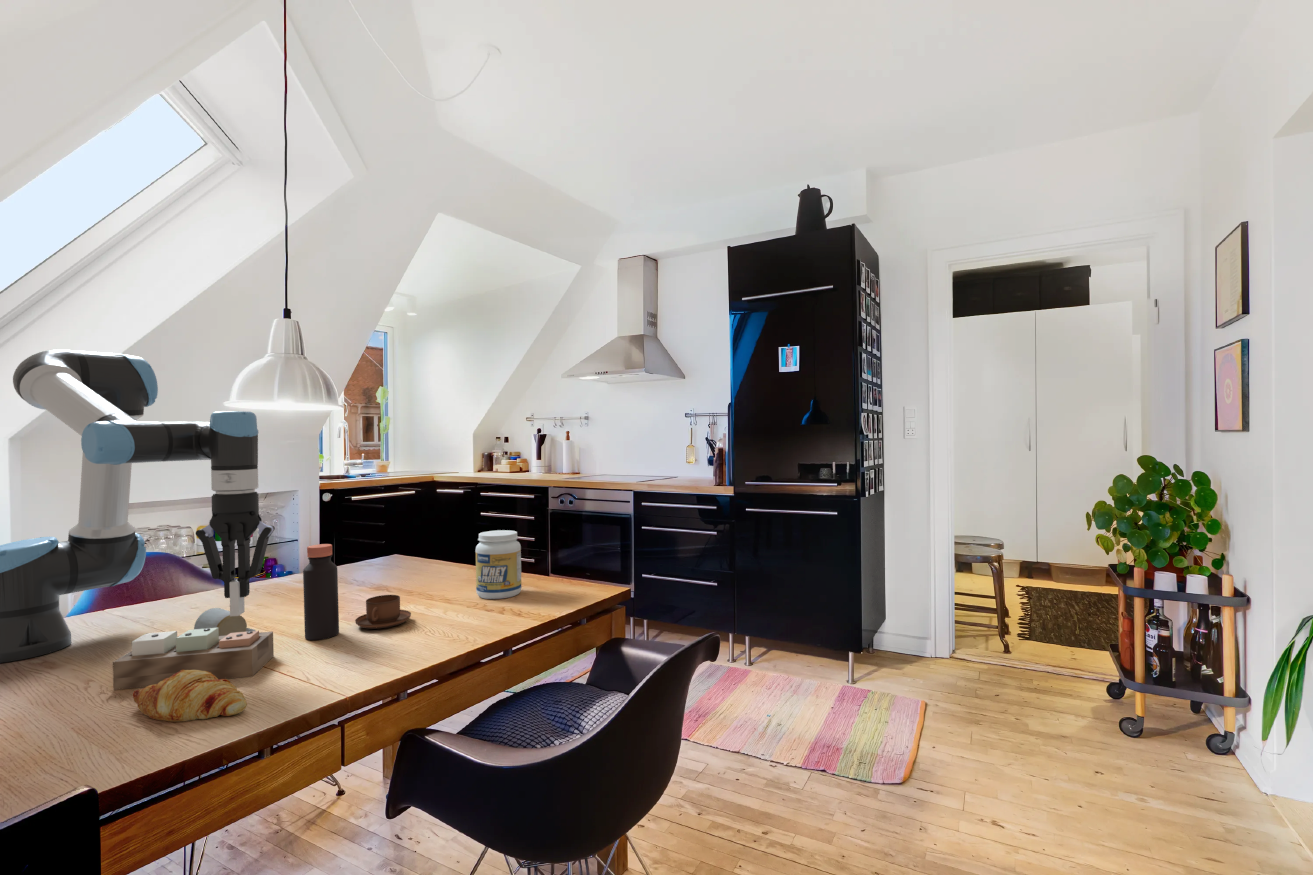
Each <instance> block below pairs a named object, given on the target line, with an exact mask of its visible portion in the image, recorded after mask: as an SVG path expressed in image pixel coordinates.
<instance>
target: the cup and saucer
mask: <svg viewBox="0 0 1313 875" xmlns="http://www.w3.org/2000/svg"><path fill="white" fill-rule="evenodd" d="M365 608H366V609H365V612H366V614H362V615H359V616H358V617H356V618H355V620H354V621H355V624H356V625H357V626H358V627H360V628H362V629H367V630H368V629H369V630H375V629H376V630H377V629H386V628H392V627H395V626H398V625H401V624H404V623H405V622H407V621H408V620H409V619H410V618H411V616H412V612H411V611H410V610H409V611H408V610H404V609H401V596H400V595H397V594H382V595H377V596H372V597H370V598H367V599H366V600H365Z"/></svg>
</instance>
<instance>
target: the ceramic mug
mask: <svg viewBox="0 0 1313 875" xmlns="http://www.w3.org/2000/svg"><path fill="white" fill-rule="evenodd" d="M247 624H248V623H247V621H246V619H245V617H244V616H242V614H241V615H239V616H230V610H227V609H225V608H220V607H212V608H209V609H207V610H205V611H203V612H202V613H201V614H200V615H199V616H198V617H197V619H196V621H195V623H194V625H193V630H194V629H206V628H219V636H226V635H228V634H230V633H236V632H248V631H257V630H256V629H254V628H249V627H248V626H247Z"/></svg>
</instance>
